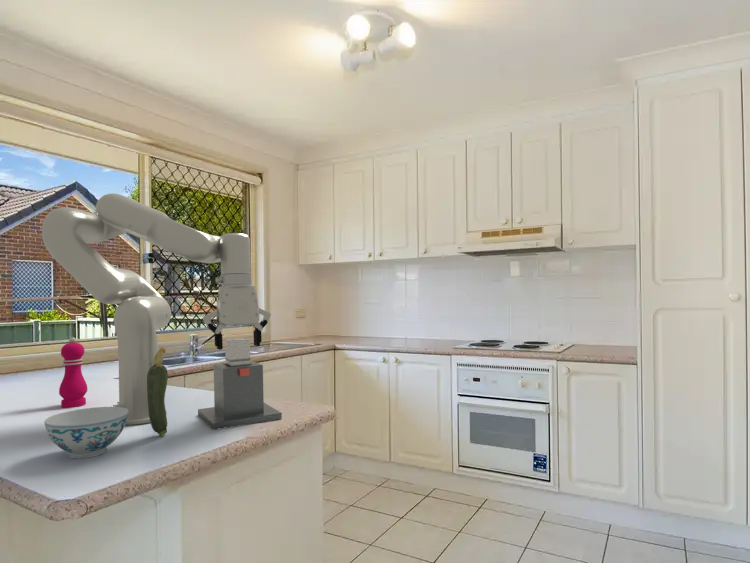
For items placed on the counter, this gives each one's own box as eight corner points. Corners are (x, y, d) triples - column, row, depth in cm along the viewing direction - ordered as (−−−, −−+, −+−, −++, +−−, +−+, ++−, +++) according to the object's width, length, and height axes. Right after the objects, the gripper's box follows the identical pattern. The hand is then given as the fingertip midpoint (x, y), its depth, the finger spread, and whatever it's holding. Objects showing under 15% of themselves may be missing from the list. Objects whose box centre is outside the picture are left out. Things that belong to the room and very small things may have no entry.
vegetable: (148, 439, 112) (146, 349, 113) (147, 434, 116) (145, 347, 117) (170, 436, 114) (168, 347, 115) (168, 431, 118) (166, 346, 119)
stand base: (212, 429, 119) (211, 372, 119) (198, 414, 134) (197, 363, 134) (281, 418, 128) (280, 365, 128) (260, 406, 142) (259, 358, 142)
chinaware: (133, 455, 102) (133, 416, 102) (44, 471, 94) (44, 429, 94) (124, 437, 114) (123, 403, 114) (45, 450, 106) (44, 413, 106)
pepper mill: (74, 408, 145) (73, 338, 145) (53, 407, 146) (52, 338, 146) (93, 402, 152) (92, 336, 152) (72, 402, 153) (71, 336, 154)
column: (231, 413, 127) (230, 340, 127) (226, 409, 132) (224, 339, 132) (251, 410, 130) (250, 339, 130) (245, 406, 134) (244, 337, 134)
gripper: (205, 281, 123) (207, 351, 123) (273, 280, 132) (275, 345, 132) (198, 282, 130) (201, 349, 130) (264, 281, 139) (266, 343, 138)
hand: (238, 347), depth 131 cm, fingers open, 9 cm apart
